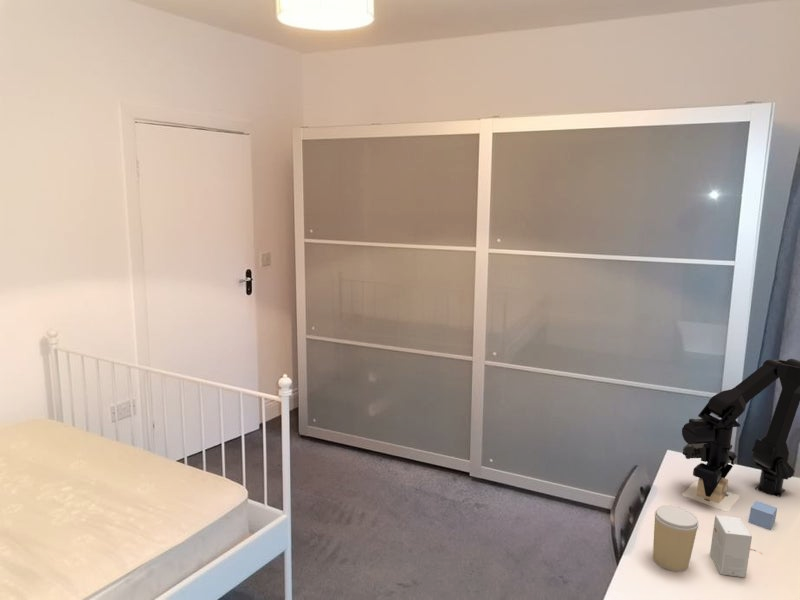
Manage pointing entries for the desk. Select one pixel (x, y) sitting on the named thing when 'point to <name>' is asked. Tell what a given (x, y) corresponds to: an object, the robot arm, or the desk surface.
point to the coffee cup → (674, 537)
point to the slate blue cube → (762, 515)
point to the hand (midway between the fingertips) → (711, 492)
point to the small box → (730, 546)
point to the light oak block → (717, 493)
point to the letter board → (723, 505)
